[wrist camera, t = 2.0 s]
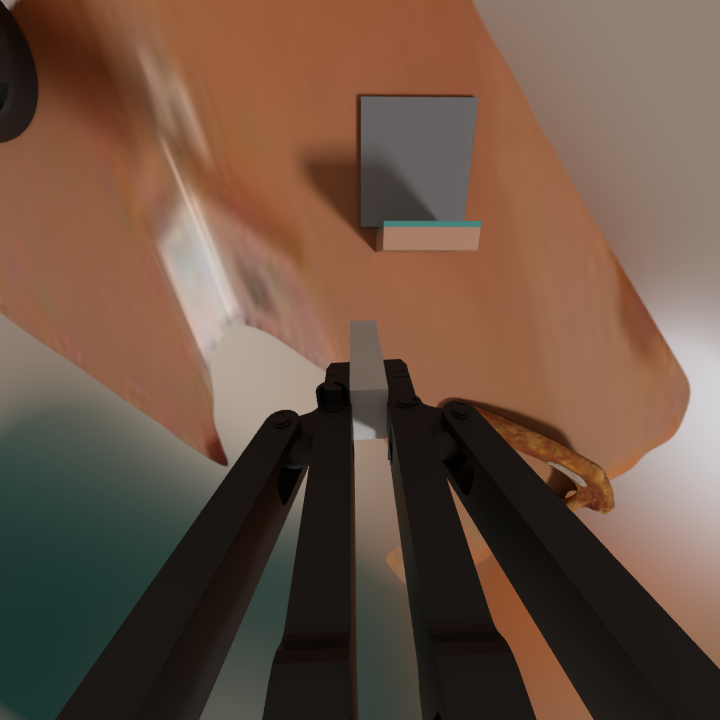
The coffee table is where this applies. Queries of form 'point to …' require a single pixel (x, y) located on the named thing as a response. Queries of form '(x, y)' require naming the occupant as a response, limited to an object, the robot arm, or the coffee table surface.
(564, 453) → the brown curved bar
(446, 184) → the pad
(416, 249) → the tile
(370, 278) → the coffee table surface
